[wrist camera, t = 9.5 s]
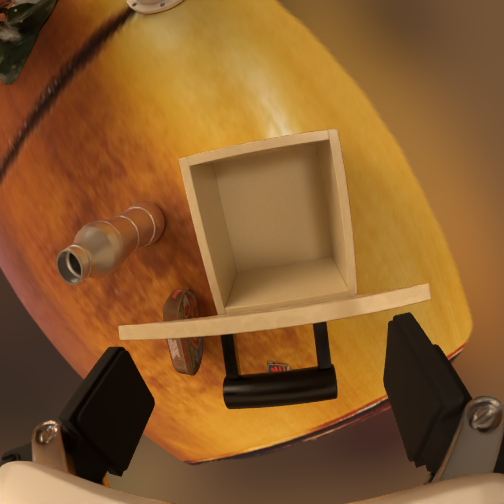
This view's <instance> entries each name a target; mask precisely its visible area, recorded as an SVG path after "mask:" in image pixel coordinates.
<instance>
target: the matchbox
mask: <svg viewBox="0 0 504 504" xmlns="http://www.w3.org/2000/svg"><path fill="white" fill-rule="evenodd" d="M267 363H273V362H272V361H271V362H267ZM267 367H268V369H267V370H268V372H277V371H286V370H289V369H288V367H289V365H278V364H268V366H267ZM290 370H292V369H290Z"/></svg>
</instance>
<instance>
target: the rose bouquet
mask: <svg viewBox="0 0 504 504" xmlns="http://www.w3.org/2000/svg"><path fill="white" fill-rule="evenodd" d="M11 2H12V1H11V0H0V13H4V14H5V21H4V22H0V78H1V80H2V83H4V84H12V83H13V82H14V80H15V79H16V78H17V77H18V76H19V74H20V72H21V70H22V68H23V66H24V64H25V62H26V60H27V58H28V56H29V54H30V52H31V49H32V47H33V45H34V43H35V41H36V39H37V37H38V32H39V30H40V28H41V26H42V25H43V23H44V22H45V20H46V19H47V18H48V16H49V14H50V13H51V11H52V10H53V8H54V6H55V3H56V0H16V1H15V2H14V3H13V5H12V6H11V8H9V9H7V8H6V7H7V6H8V5H9V4H10V3H11Z"/></svg>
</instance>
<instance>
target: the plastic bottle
mask: <svg viewBox="0 0 504 504" xmlns="http://www.w3.org/2000/svg"><path fill="white" fill-rule="evenodd" d="M164 226H165V219H164V215H163V213H162V211H161V210H160V208H159V207H158V206H157V205H155V204H154V203H151V202H137V203H135V204H133V205H132V206H130V207H129V208H128V209H127V210H126V211H124V212H123V213H121V214H120V215H118V216H115V217H112V218H109V219H105V220H99V221H94V222H91V223H88V224H86V225H85V226H83V227H82V228H81V230H80V231H79V232H78V233H77V235H76V237H75V239H74V242H73V244H71V245H70V246H68V247H67V248H66V249H64V250H62V251H61V252H60V253H59V254H58V257H57V268H58V271H59V274H60V276H61V277H62V278H63V280H64V281H66V282H67V283H69V284H71V285H75V284H78V283H80V282H81V281H83V280H85V279H87V278H88V277H91V278H95V279H101V278H105V277H109V276H111V275H112V274H113V273H114V272H115V271H116V270H117V269H118V268H119V267H120V266H121V265H122V264H123V262H124V261H125V260H126V259H127V258H128V257H129V256H130V255H131V254H132V253H133V252H134V251H136V250H138V249H140V248H142V247H146V246H148V245H151V244H153V243H154V242H156V241H157V240H158V238H159V237H160V236H161V234H162V232H163V230H164Z"/></svg>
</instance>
